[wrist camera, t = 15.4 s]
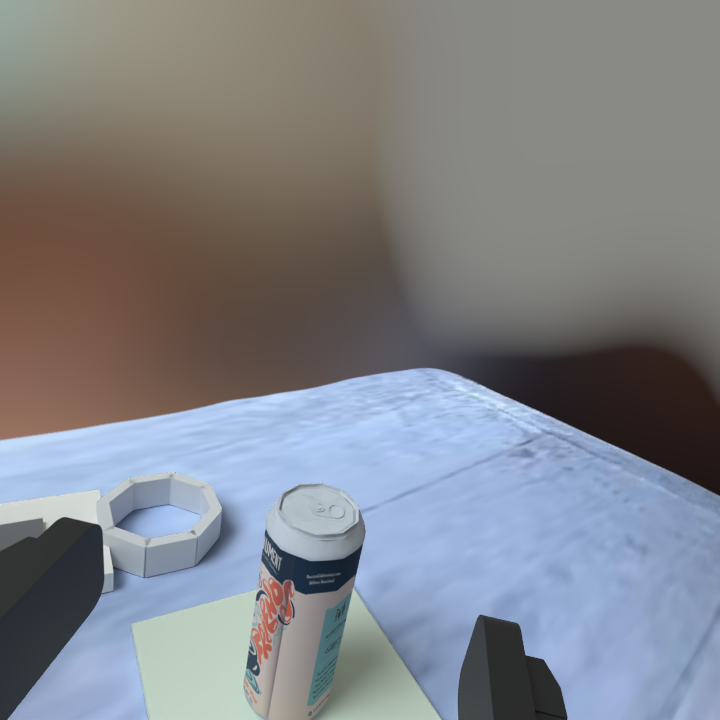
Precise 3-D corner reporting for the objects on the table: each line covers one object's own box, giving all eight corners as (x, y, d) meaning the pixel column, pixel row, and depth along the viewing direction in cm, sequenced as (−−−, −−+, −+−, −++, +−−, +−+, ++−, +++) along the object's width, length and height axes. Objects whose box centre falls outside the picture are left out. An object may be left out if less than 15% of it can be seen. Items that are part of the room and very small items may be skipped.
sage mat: (338, 573, 38) (339, 566, 38) (461, 762, 27) (464, 754, 27) (131, 631, 31) (131, 623, 30) (186, 923, 20) (187, 914, 19)
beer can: (252, 644, 31) (276, 471, 26) (331, 655, 31) (368, 485, 27) (233, 726, 26) (259, 533, 22) (326, 738, 26) (370, 549, 22)
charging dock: (199, 489, 44) (201, 464, 43) (230, 562, 37) (234, 534, 36) (-148, 544, 33) (-155, 512, 32) (-198, 664, 26) (-208, 627, 25)
